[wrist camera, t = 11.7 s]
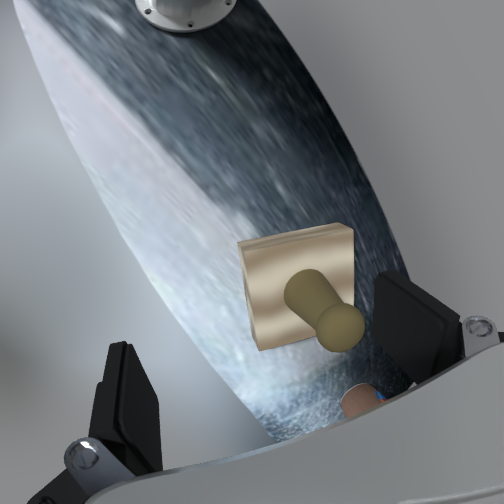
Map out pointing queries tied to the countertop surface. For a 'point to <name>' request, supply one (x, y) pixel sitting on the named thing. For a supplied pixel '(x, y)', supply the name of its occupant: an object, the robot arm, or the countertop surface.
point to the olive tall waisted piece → (324, 310)
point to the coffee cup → (360, 399)
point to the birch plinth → (283, 268)
